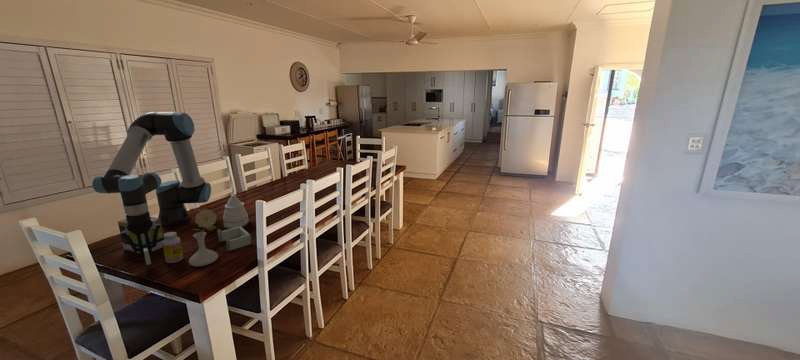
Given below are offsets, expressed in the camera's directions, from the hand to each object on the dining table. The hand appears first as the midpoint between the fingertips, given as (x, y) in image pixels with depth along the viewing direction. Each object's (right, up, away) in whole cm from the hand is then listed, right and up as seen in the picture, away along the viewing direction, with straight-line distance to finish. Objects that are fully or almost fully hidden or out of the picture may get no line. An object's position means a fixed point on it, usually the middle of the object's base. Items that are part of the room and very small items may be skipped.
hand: (148, 263), depth 134 cm
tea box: (-15, +3, +17) cm, 23 cm away
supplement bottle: (+6, 0, +7) cm, 9 cm away
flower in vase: (+21, -1, +6) cm, 22 cm away
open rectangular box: (+25, +4, +24) cm, 35 cm away
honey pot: (+14, +11, +46) cm, 49 cm away
